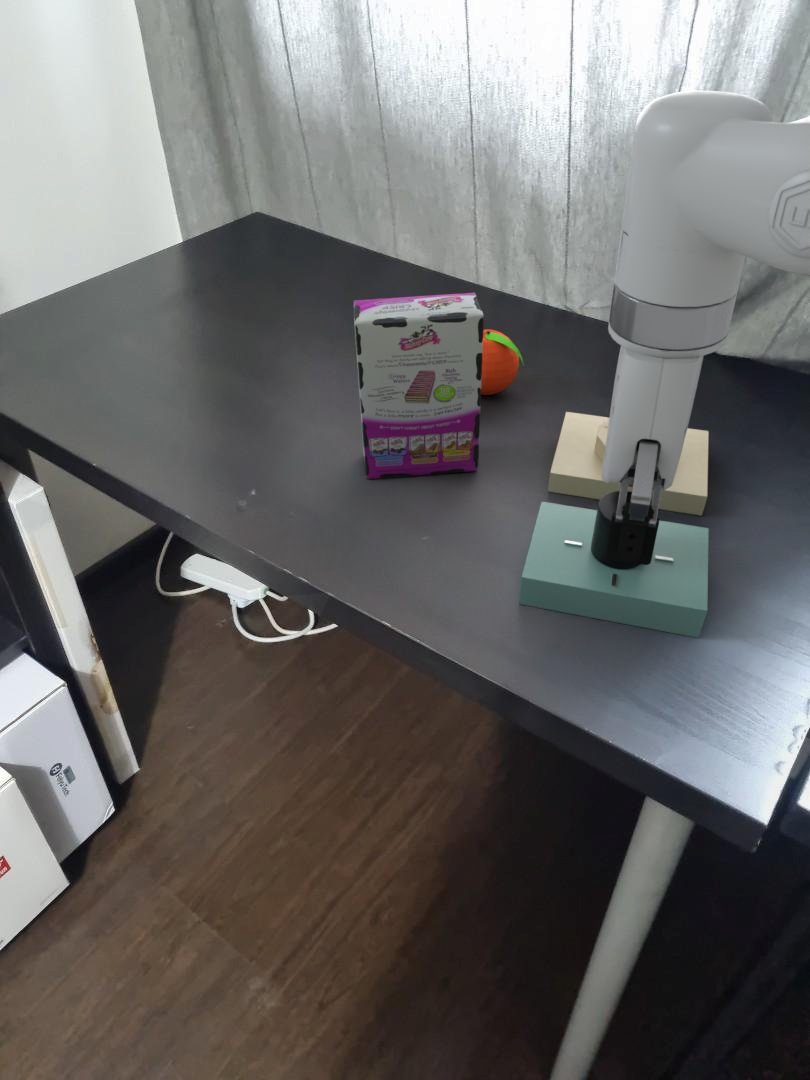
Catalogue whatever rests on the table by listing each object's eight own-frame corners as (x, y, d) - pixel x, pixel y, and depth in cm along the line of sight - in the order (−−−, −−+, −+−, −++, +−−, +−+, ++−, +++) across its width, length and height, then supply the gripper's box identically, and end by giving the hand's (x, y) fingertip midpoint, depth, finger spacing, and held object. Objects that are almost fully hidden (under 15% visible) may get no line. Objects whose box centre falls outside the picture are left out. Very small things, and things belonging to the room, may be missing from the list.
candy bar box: (470, 444, 84) (477, 290, 73) (478, 473, 80) (487, 314, 70) (361, 451, 83) (352, 296, 73) (363, 480, 79) (354, 322, 69)
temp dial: (594, 529, 69) (602, 483, 66) (648, 539, 68) (659, 492, 65) (587, 563, 66) (595, 516, 62) (643, 574, 65) (654, 527, 61)
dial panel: (701, 555, 71) (709, 526, 69) (698, 638, 63) (708, 609, 61) (538, 527, 74) (541, 499, 72) (518, 604, 67) (521, 575, 64)
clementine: (536, 389, 92) (542, 330, 87) (504, 416, 88) (509, 356, 83) (475, 369, 96) (478, 311, 91) (442, 394, 91) (443, 335, 87)
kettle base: (703, 449, 83) (712, 415, 80) (702, 516, 75) (712, 480, 72) (563, 429, 86) (568, 396, 83) (547, 491, 78) (552, 456, 75)
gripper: (622, 257, 60) (595, 453, 71) (596, 368, 48) (569, 585, 59) (730, 264, 59) (686, 464, 69) (733, 382, 46) (679, 603, 57)
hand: (632, 519), depth 64 cm, fingers open, 9 cm apart
